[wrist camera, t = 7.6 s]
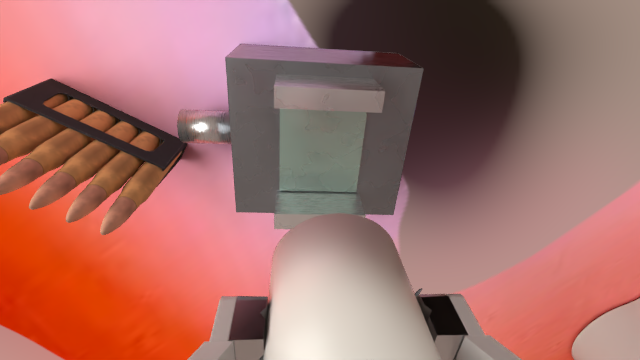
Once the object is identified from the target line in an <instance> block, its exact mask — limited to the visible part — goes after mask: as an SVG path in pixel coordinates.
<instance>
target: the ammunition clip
mask: <svg viewBox="0 0 640 360" xmlns="http://www.w3.org/2000/svg"><path fill="white" fill-rule="evenodd" d="M7 101H8V102H7ZM3 102H4V103H3V104H0V165H1V164H3V163H6V162H8V161H10V160H12V159H14V158H17V157H20V156H24V155H26V154H28V153H30V152H31V153H30V154H29V155H28V156H26V157H25V158H23V159H22V160H21V161H20V162H18V163H17V164H15V165H14V166H12V167H11V168H10V169H8V170H7V171H6V172H5V173H3V174H2V175H1V176H0V195H2V194H6V193H9V192H12V191H14V190H17V189H19V188H21V187H23V186H25V185H27V184H29V183H31V182H32V181H34V180H35V179H37V178H38V177H40V176H42V175H44V174H45V173H47V172H48V171H51V170H53V169H56V168H58V167H60V166H61V165H63V164H64V165H63V167H62V168H61V169H60V170H58V171H57V172H56V173H55V174H54V175H53V176H52V177H51V178H49V179H48V180H47V181H46V182H45V183H44V184H43V185H42V186H41V187H40V188H39V189H38V190H37V192H36V193H35V194H34V196H33V198H32V199H31V201H30V204H29V208H30V209H32V210H33V209H38V208H42V207H44V206H47V205H49V204H51V203H53V202H55V201H57V200H58V199H60V198H61V197H63V196H64V195H66V194H67V193H68V192H70V191H71V190H72V189H74V188H75V187H77V186H78V185H79V184H80V183H82V182H84V181H86V180H88V179H90V178H91V177H93V176H94V175H95V174H96V173H97V174H96V175H95V177H94V178H93V180H92V181H91V182H90V183H89V184H88V185H87V187H86V188H85V189H84V190H83V191H82V192H81V193H80V194H79V195H78V197H77V198H76V199H75V200H74V202H73V203H72V205H71V207H70V208H69V210H68V212H67V215H66V222H68V223H70V222H74V221H77V220H79V219H81V218H83V217H84V216H86V215H88V214H89V213H91V212H92V211H93V210H94V209H96V208H97V207H98V206H99V205H100V204H101V203H102V202H103V201H104V200H106V199H107V198H108V197H109V196H110V195H111V194H112V193H114V192H116V191H117V190H119V189H120V188H121V187H122V186H123V185H124V184H125V183H126V182H127V181H128V179H129V178H130V177H131V178H130V180H129V181H128V182H127V183H126V184H125V186H124V187H123V189H122V192H121V194H120V195H119V196H118V198H117V199H116V201H115V202H114V203H113V205H112V206H111V207H110V209H109V210H108V212H107V214H106V215H105V217H104V219H103V222H102V225H101V234H102V235H106V234H108V233H110V232H112V231H114V230H115V229H117V228H118V227H120V226H121V225H122V224H123V223H124V222H125V221H126V220H127V219H128V218H129V217H130V216H131V214H132V213H133V212H134V211H135V210H136V209H137V208H138V207H139V206H140V204H142V203H143V202H145V201H146V200H147V199H148V197H149V196H150V195H151V193H152V192H153V191H154V189H155V188H156V187H157V186H158V185H159V184H160V183H161V181H162V180H163V179H164V178H165V177H166V176H167V174H168V173H169V172H170V171H171V170H172V169H173V167H174V166H175V165H176V164H177V163H178V162H179V160H180V159H181V157H182V155H183V153H184V150H185V148H186V146H187V143H183V142H181V140H180V139H179V138H177V137H174V136H172V135H170V134H168V133H166V132H164V131H162V130H160V129H157V128H155V127H153V126H151V125H149V124H147V123H145V122H143V121H140V120H138V119H136V118H134V117H132V116H130V115H128V114H126V113H124V112H121V111H119V110H117V109H115V108H113V107H111V106H109V105H107V104H104V103H102V102H100V101H98V100H96V99H94V98H92V97H90V96H87V95H85V94H83V93H81V92H79V91H77V90H75V89H73V88H70V87H68V86H66V85H64V84H62V83H60V82H58V81H56V80H53V79H49V80H46V81H44V82H41V83H39V84H36V85H34V86H32V87H29V88H27V89H24V90H22V91H19V92H17V93H14V94H12V95H9V96H7V97H5V98H4V100H3ZM5 102H6V103H5ZM144 162H145V163H144ZM143 163H144V164H143ZM142 164H143V165H142ZM141 165H142V166H141ZM140 166H141V167H140Z"/></svg>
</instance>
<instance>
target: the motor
mask: <svg viewBox="0 0 640 360" xmlns="http://www.w3.org/2000/svg"><path fill="white" fill-rule="evenodd" d="M225 59H226V73H227V88H228V102H229V111H207V110H184V109H182V110H181V111H180V112H179V115H178V122H177V127H178V135H179V138H180V140H181V142H183V143H213V144H232V158H233V172H234V186H235V200H236V212H258V213H274V229H292V228H294V227H295V226H296V225H298V224H300V223H302V222H304V221H306V220H308V219H311V218H313V217H317V216H321V215H326V214H334V213H345V214H353V215H358V216H361V217H366V215H365V214H377V215H393V214H394V209H395V204H396V200H397V195H398V190H399V185H400V180H401V175H402V170H403V166H404V161H405V156H406V151H407V146H408V142H409V137H410V132H411V127H412V122H413V118H414V112H415V108H416V102H417V98H418V93H419V89H420V84H421V79H422V74H423V69H424V68H422V67H420V66H419V65H417V64H415V63H414V62H412V61H410V60H409V59H407V58H405V57H403V56H402V55H400V54H398V53H387V52H370V51H353V50H336V49H319V48H302V47H285V46H268V45H251V44H240V45H239V46H237V47H236V48H235V49H234V50H233V51H232V52H231V53H230V54H229V55H227V56H226V57H225Z"/></svg>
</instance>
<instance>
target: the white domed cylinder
mask: <svg viewBox="0 0 640 360" xmlns="http://www.w3.org/2000/svg"><path fill="white" fill-rule="evenodd" d="M263 360H441V358H440V355H439V353H438V350H437V348H436V345H435V343H434V340H433V338H432V336H431V333H430V331H429V328H428V326H427V323H426V321H425V318H424V316H423V313H422V311H421V308H420V306H419V303H418V301H417V299H416V296H415V294H414V291H413V289H412V286H411V284H410V281H409V279H408V276H407V274H406V271H405V269H404V266H403V264H402V262H401V259H400V257H399V254H398V252H397V249H396V247H395V244H394V242H393V240H392V238H391V237H390V235H389V234H388V233H387V231H386V230H385V229H383V228H382V227H381V226H380V225H378V224H377V223H375V222H374V221H372V220H369V219H367V218H365V217H361V216H358V215H353V214H345V213H334V214H326V215H321V216H317V217H313V218H311V219H308V220H306V221H304V222H302V223H300V224H298V225H296V226H295V227H294V228H292V229H291V230H290V231H289V232H287V233H286V234H285V235H284V236H283V238H282V239H281V240H280V241H279V243H278V245H277V246H276V248H275V251H274V253H273V257H272V266H271V277H270V289H269V300H268V313H267V323H266V337H265V348H264V357H263Z"/></svg>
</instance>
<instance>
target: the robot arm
mask: <svg viewBox="0 0 640 360" xmlns="http://www.w3.org/2000/svg"><path fill="white" fill-rule="evenodd" d="M416 299H417V301H418V303H419V306H420V308H421V311H422V313H423V316H424V318H425V321H426V323H427V326H428V328H429V331H430V333H431V336H432V338H433V340H434V343H435V345H436V348H437V350H438V353H439V355H440V358H441V360H522V359H520V358H519V357H518V356H516V355H515V354H514V353H512V352H511V351H510V350H508V349H507V348H506V347H504V346H503V345H502V344H500V343H499V342H498V341H496V340H495V339H494V338H493V337H491V336H490V335H485V334H484V332H483V330H482V329H481V327H480V325H479V323H478V321H477V320H476V318H475V316H474V314H473V313H472V311H471V309H470V307H469V306H468V304H467V302H466V300H465V299H464V297H463V296H462V295H461V294H425V295H423V294H422V295H417V296H416ZM267 313H268V297H252V296H222V297H221V299H220V301H219V305H218V309H217V313H216V317H215V321H214V325H213V329H212V333H211V337H210V341H209V342H204V343H203V344H202V345H201V346H200V347H199V348H198V349H197V350H196V351H195V352H194V353H193V354H192V355H191V356H190V357H189V358H188V360H263V357H264V348H265V337H266V323H267ZM572 356H573V358H574V360H640V298H639V299H637V300H635V301H633V302H630V303H628V304H625V305H623V306H620V307H618V308H615V309H613V310H611V311H609V312H607V313H605V314H603V315H602V316H600V317H599V318H597V319H596V320H594V321H593V322H591V323H590V324H589V325H588V326H587V327H586V328H584V329H583V330H582V332H581V333H580V334H579V335H578V336H577V338H576V339H575V341H574V343H573V346H572Z"/></svg>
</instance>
